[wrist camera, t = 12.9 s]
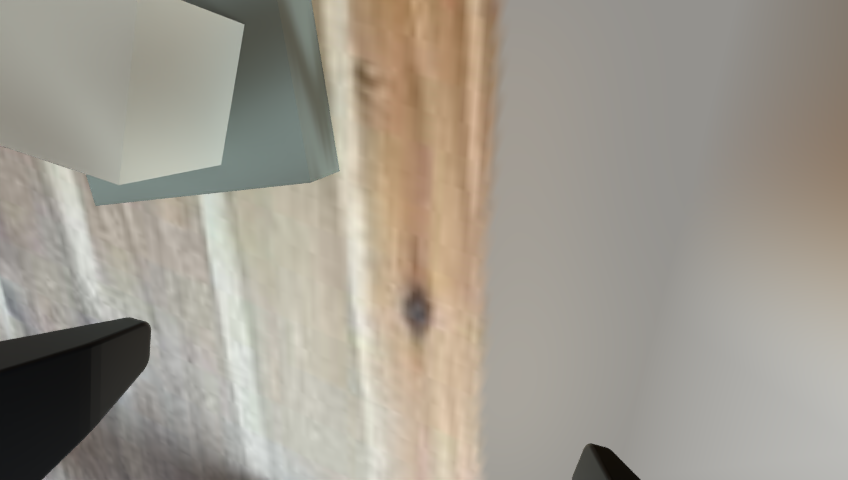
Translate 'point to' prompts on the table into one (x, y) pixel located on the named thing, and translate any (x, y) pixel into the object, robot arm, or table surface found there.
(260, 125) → the slate block
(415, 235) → the table surface
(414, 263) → the table surface
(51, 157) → the cream block
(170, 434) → the table surface
